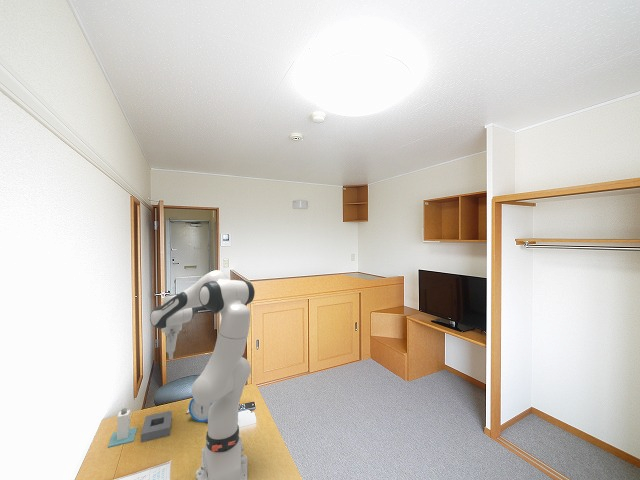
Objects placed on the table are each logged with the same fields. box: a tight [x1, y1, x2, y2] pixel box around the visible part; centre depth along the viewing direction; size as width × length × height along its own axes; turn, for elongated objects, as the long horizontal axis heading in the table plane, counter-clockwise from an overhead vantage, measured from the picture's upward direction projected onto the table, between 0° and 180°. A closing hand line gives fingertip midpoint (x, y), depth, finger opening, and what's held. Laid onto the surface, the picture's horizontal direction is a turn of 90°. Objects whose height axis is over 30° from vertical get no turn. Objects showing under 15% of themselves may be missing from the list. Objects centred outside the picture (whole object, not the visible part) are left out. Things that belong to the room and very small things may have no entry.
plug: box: [116, 407, 131, 440], centre depth 123 cm, size 4×4×12 cm
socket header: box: [140, 410, 173, 443], centre depth 128 cm, size 14×11×4 cm
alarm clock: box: [188, 397, 213, 423], centre depth 137 cm, size 13×6×15 cm, turn 83°
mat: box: [107, 426, 138, 449], centre depth 123 cm, size 10×9×1 cm
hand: (171, 355), depth 137 cm, fingers open, 8 cm apart
